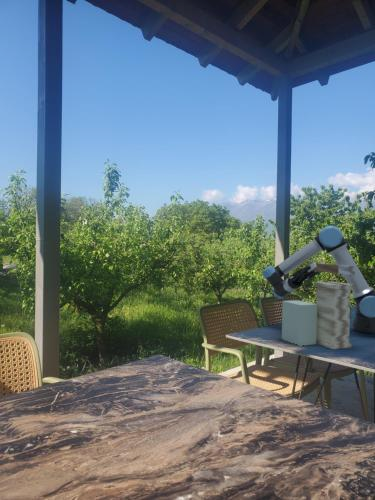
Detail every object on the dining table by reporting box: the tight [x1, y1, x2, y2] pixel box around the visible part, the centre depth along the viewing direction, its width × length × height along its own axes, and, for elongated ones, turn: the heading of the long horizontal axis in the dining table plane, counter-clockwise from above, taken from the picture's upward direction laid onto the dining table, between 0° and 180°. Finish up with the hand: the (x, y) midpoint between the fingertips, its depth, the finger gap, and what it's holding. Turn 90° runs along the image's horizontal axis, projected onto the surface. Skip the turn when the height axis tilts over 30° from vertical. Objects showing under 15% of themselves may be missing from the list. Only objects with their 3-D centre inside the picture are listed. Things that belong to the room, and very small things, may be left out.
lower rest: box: [281, 299, 317, 347], centre depth 197 cm, size 10×14×20 cm
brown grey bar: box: [306, 262, 355, 275], centre depth 195 cm, size 4×28×4 cm, turn 24°
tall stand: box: [313, 281, 354, 350], centre depth 192 cm, size 12×14×30 cm
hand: (318, 264), depth 201 cm, fingers closed on brown grey bar, 4 cm apart
